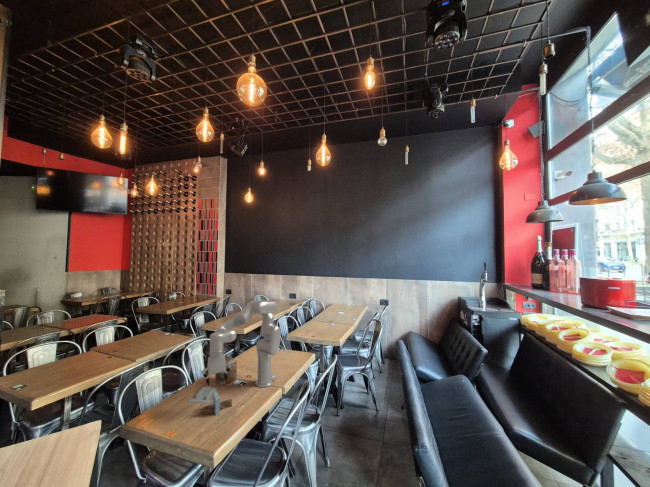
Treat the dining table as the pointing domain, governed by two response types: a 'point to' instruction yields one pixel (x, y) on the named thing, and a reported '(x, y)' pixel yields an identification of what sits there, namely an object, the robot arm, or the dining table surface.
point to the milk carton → (230, 375)
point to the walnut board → (211, 409)
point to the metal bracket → (203, 395)
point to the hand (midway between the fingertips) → (216, 382)
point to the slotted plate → (216, 403)
